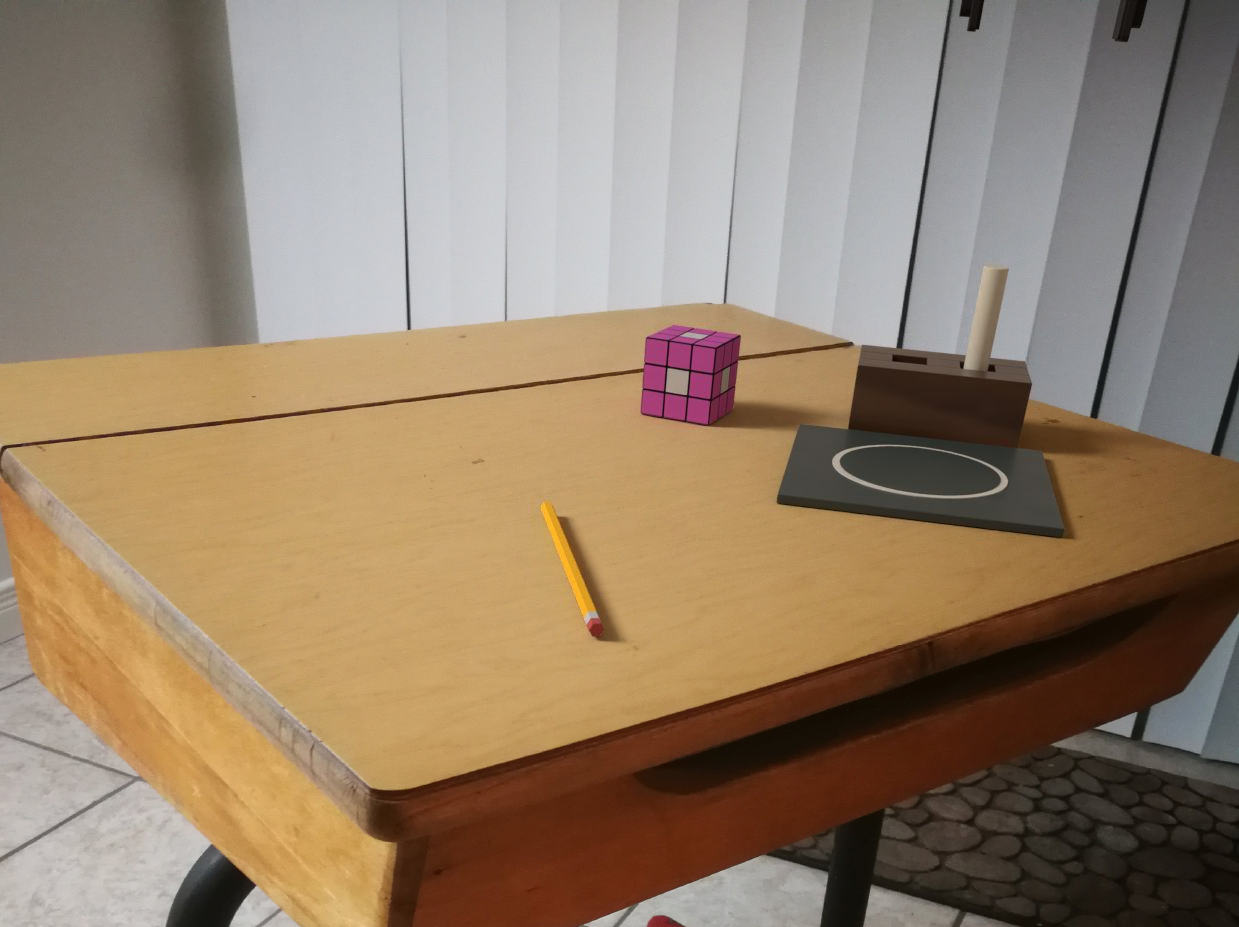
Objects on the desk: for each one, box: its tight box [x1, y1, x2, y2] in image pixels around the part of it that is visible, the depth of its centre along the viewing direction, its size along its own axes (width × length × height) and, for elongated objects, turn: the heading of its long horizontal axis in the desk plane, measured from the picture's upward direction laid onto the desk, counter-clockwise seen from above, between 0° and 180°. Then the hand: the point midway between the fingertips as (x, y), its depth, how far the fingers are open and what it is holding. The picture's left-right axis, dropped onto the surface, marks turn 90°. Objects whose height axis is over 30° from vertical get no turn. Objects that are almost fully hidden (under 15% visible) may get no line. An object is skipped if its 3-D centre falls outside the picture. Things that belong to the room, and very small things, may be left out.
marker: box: [963, 264, 1010, 371], centre depth 97 cm, size 2×2×12 cm
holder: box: [847, 344, 1033, 448], centre depth 99 cm, size 8×13×5 cm, turn 78°
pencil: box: [540, 501, 605, 637], centre depth 71 cm, size 1×18×1 cm, turn 10°
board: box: [776, 423, 1065, 538], centre depth 89 cm, size 18×18×1 cm
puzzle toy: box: [640, 324, 742, 426], centre depth 99 cm, size 6×6×6 cm
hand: (1045, 36), depth 86 cm, fingers open, 9 cm apart
